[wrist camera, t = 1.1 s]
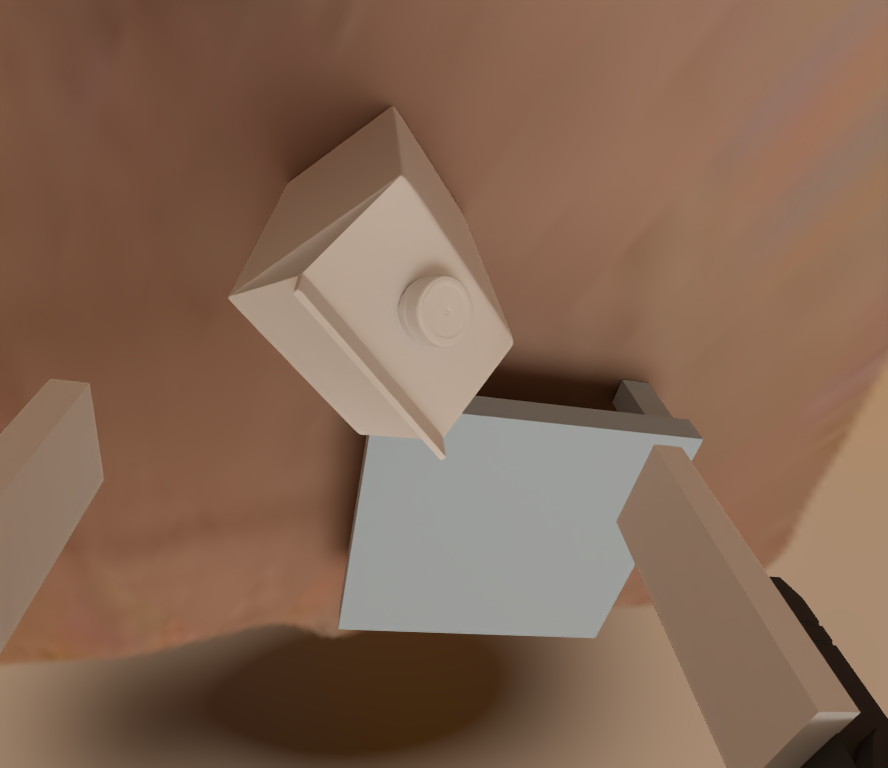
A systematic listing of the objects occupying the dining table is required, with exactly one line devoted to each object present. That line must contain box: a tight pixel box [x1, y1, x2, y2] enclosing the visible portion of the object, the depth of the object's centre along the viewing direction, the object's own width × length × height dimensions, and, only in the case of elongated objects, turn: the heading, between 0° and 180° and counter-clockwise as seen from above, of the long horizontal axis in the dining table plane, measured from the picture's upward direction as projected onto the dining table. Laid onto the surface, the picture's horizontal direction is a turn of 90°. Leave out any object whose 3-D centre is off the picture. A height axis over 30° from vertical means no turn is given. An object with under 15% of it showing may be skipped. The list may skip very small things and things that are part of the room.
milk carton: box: [228, 106, 513, 460], centre depth 25 cm, size 7×7×19 cm
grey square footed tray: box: [338, 380, 703, 638], centre depth 41 cm, size 20×20×7 cm
